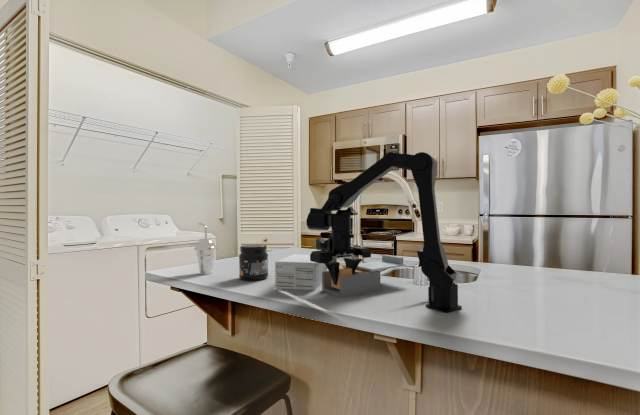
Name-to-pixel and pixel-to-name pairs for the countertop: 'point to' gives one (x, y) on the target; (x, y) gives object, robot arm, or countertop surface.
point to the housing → (352, 283)
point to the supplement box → (298, 273)
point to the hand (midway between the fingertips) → (341, 283)
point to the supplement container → (253, 262)
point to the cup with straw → (205, 253)
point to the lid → (383, 263)
